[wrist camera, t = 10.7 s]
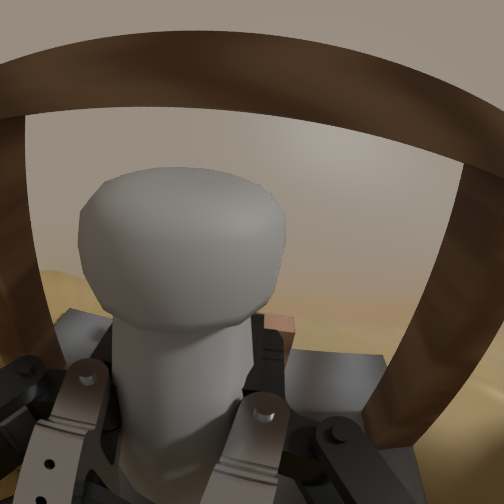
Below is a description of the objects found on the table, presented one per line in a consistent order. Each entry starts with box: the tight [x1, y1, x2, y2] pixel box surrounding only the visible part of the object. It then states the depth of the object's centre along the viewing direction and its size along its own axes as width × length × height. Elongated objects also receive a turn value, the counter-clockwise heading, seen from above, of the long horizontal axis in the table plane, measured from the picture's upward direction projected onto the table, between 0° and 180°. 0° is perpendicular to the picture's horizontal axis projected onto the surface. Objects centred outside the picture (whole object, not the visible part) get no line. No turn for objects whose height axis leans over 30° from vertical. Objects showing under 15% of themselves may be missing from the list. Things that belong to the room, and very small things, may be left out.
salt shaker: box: [78, 167, 286, 504], centre depth 9 cm, size 6×6×13 cm
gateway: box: [0, 31, 504, 504], centre depth 11 cm, size 25×14×18 cm, turn 86°
